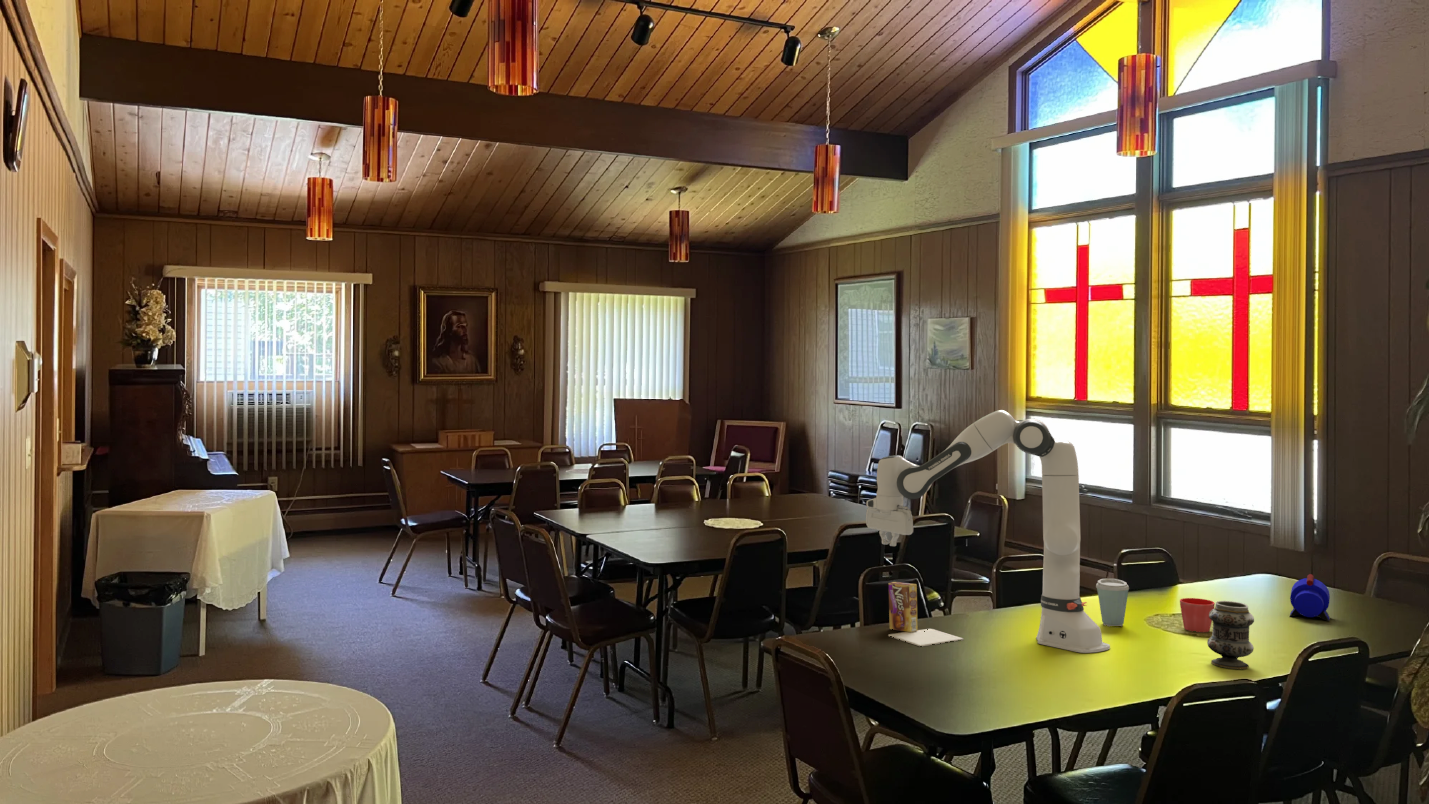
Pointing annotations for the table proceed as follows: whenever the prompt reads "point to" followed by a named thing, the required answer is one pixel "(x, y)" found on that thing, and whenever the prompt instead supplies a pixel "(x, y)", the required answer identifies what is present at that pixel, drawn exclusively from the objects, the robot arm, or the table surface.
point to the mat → (925, 637)
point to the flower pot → (1196, 614)
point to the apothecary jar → (1230, 634)
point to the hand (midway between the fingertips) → (889, 545)
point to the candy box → (903, 606)
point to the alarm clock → (1310, 598)
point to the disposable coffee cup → (1112, 601)
